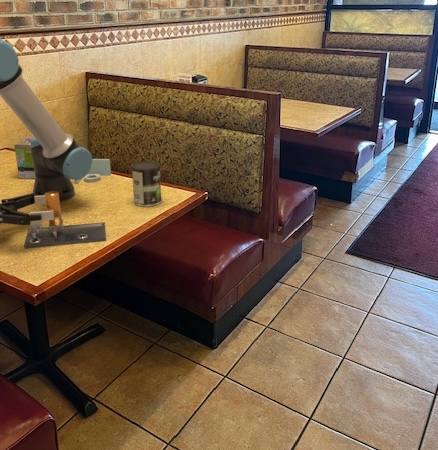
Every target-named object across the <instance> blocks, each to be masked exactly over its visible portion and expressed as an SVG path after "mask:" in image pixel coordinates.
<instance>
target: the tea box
mask: <svg viewBox="0 0 438 450" xmlns="http://www.w3.org/2000/svg"><path fill="white" fill-rule="evenodd" d="M32 138H34V136H33V135H27V136H25V137H23V138H22V139H21V140H19V141H18V142H16V143H14V144H13V145H14V151H15V152H14V153H15V158H16V166H17V174H18V179H22V180H23V179H25V180H26V179H27V180H28V179H29V180H30V179H31V180H35V172H34V165H33V159H32V153H31V149H30V141H31V139H32Z"/></svg>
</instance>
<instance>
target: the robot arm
mask: <svg viewBox="0 0 438 450" xmlns="http://www.w3.org/2000/svg"><path fill="white" fill-rule="evenodd" d="M23 72H24V71H23V68H22V67H21V65H20V64H19V56H18V54H17V51H16V50H15V48H14V47H13V46H12V45H11V44H10V43H9V42H7V41H6V40H4V39H2V38H0V98H2V99H3V101H4V102H5V103H6V104H7V106H8V107H9V108H10V109H11V110H12V111H13V113H14V114H15V115H16V117H17V118H18V119H19V120H20V122H21V123H22V124H23V125H24V126H25V127H26V129H27V130H28V131H29V133H31V136H34V138H32V139H31V141H30V149H31V153H32V159H33V165H34V172H35V179H34V184H33V189H32V193H29V194H24V195H20V196H15V197H11V198H3V199H1V203H0V224H7V225H16V226H24V227H25V226H31V223H32V222H43V221H44V222H45V221H49V220H54V215H53V211H47V210H45V211H44V210H42V211H41V210H40V211H31V212H30V211H29V213H26V212H22V211H18V210H20V209H23V208H26V207H29V206H32V205H34V204H35V206H36V205H38V206H39V205H46V199H45V193H47V192H50V191H56V192H58V194H59V201H60V202H63V201H66V200H69V199H72V198H73V197H74V196H75V194H76V191H75V186H74V184H73V182H72V181H71V180H73V181H75V180H79V179H81V180H83V179H84V177H85V176H86V175H87V174H88V173H89V171H90V169H91V164H92V159H93V157H92V154H91V152H90V151H89V149H86V148H85V147H83V146H80V144H79V143H78V142H77V140H75V138H74V137H73V135H72V134H70V133H66V132H64V131H63V130H62V127H60V126H59V124H58V123H57V122H56V120H55V118H53V116H52V115H51V114H50V112H49V111H48V110H47V108H46V107H45V106H44V104H43V103H42V101H40V99H39V97H37V95H36V94H35V92H34V91H33V90H32V88H31V87H30V86H29V84H28V83H27V82H26V80H25V79H24V77H23Z"/></svg>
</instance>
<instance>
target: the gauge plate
mask: <svg viewBox="0 0 438 450" xmlns="http://www.w3.org/2000/svg"><path fill="white" fill-rule="evenodd" d="M42 222H43V221H33V222H31V225H30V227H29V228H28V230H27V233H26V236H25V241H24V244H23V246H24V249H32V248H42V247H53V246H63V245H73V244H83V243H94V242H95V243H96V242H106V241H107V236H106V235H107V234H106V233H107V232H106V223H105V222H95V223H94V222H92V223H80V224H71V225H63V230H57V238H56V239H55V238H54V234H53V231H49V226H46V227H43V224H42Z"/></svg>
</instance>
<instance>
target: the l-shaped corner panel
mask: <svg viewBox="0 0 438 450" xmlns="http://www.w3.org/2000/svg"><path fill="white" fill-rule="evenodd" d="M111 169H112V168H111V159H110V158H92V164H91V169H90V171H89V173H88V174H87V175H86V176H85V177H83V178H82V179H79V180H74V183H75V185H79V183H80V182H81V181H82V180H83V181H85V182H86V183H95V182H98V181H100V180H101V177H102V176H107V177H108V176H111V175H112V170H111Z"/></svg>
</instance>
